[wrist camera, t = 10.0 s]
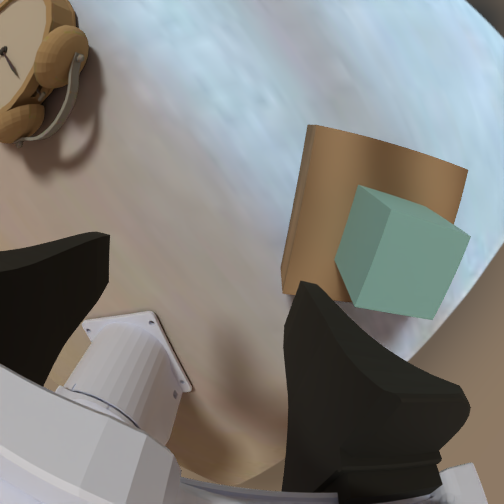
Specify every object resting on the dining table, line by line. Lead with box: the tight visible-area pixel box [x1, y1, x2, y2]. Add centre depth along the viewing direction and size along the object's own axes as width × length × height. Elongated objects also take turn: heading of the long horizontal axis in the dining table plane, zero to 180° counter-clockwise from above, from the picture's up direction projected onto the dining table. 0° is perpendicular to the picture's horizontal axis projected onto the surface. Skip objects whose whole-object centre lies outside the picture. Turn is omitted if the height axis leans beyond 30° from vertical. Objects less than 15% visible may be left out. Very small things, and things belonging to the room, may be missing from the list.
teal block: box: [334, 185, 471, 320], centre depth 15 cm, size 5×5×5 cm
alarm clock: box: [0, 0, 89, 148], centre depth 15 cm, size 11×5×15 cm
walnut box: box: [281, 125, 468, 303], centre depth 19 cm, size 10×10×4 cm
